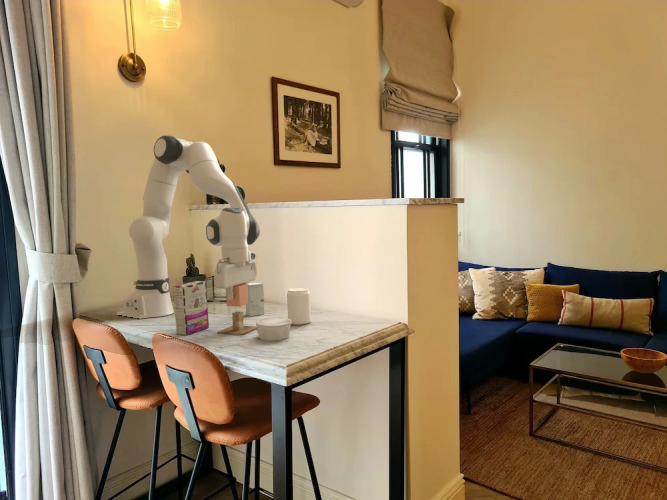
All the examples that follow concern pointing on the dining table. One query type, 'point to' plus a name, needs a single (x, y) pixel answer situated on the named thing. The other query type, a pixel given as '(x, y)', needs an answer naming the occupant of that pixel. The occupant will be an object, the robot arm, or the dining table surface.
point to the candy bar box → (191, 307)
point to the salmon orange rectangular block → (238, 295)
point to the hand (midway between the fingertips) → (237, 297)
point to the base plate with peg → (238, 326)
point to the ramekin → (273, 328)
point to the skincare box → (255, 299)
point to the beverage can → (299, 306)
